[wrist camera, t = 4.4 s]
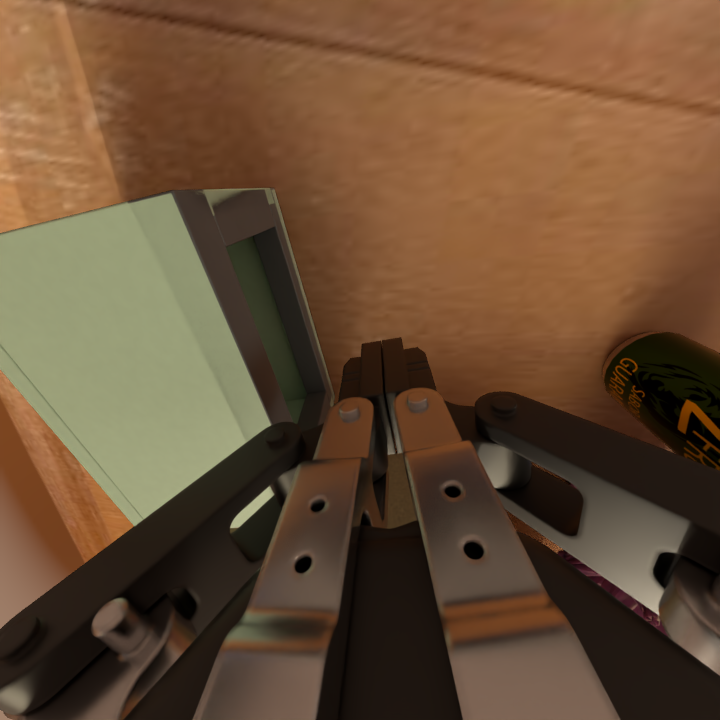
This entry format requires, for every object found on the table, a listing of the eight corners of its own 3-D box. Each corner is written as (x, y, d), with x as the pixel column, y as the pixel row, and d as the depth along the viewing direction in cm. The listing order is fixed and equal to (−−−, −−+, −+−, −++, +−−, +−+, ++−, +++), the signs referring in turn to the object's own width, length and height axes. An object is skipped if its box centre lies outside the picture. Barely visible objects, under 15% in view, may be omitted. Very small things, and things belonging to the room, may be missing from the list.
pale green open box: (126, 222, 18) (-99, 257, 10) (274, 187, 17) (172, 189, 8) (223, 413, 25) (142, 537, 16) (335, 396, 24) (313, 520, 15)
